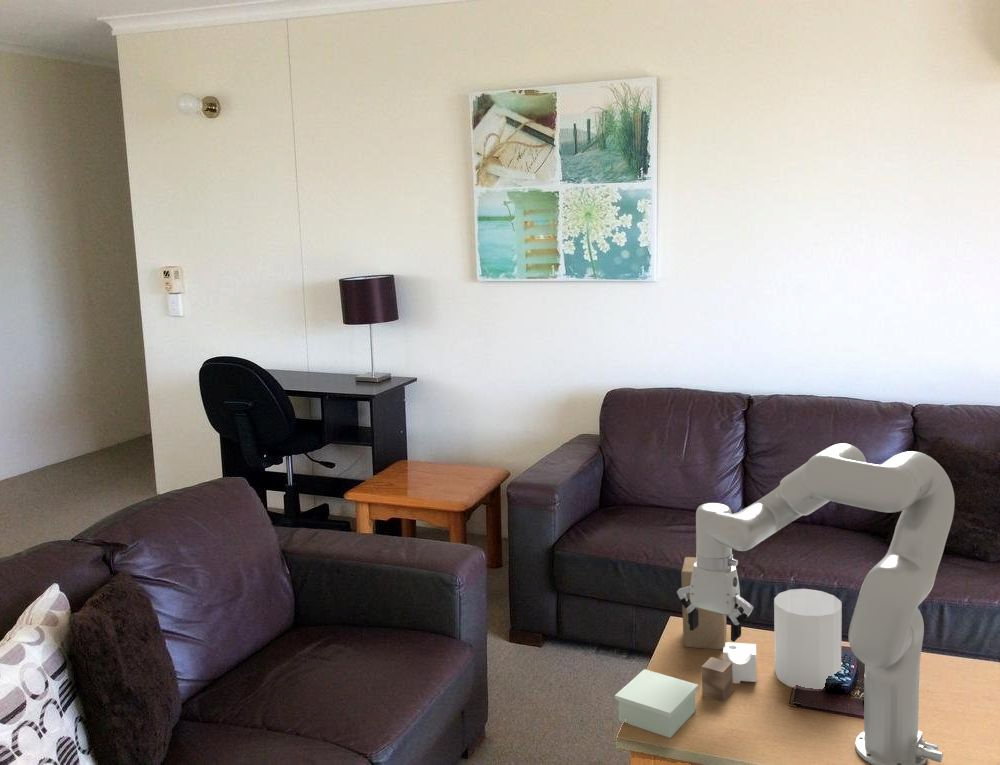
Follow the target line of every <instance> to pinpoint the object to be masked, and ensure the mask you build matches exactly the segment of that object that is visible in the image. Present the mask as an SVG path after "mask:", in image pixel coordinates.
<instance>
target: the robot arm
mask: <svg viewBox="0 0 1000 765" xmlns="http://www.w3.org/2000/svg"><path fill="white" fill-rule="evenodd" d="M829 502H834V503H837V504H844V505H847V506H852V507H855V508H856V507H857V508H861V509H866V510H870V511H876V512H881V513H897V512H901V513H900V515H899V518H898V520H897V523H896V525H895V529H894V533H893V536H892V540H891V542H890V545H889V548H888V549H887V552H886V554H885V555H884V557H883V558H882V559H881V560H880V561H879V562H878V563H877V564H875V565H874V566H873V567H872V568H871V569H870V570H869V571H868V573H867V574H866V576H865V578H864V580H863V583H862V585H861V588H860V591H859V594H858V596H857V601H856V604H855V606H854V607H855V608H854V611H853V614H852V616H851V620H850V623H849V629H848V634H847V635H848V636H847V637H848V643H849V648H850V649H851V651H852V653H853V655H854V656H855V658H857V660H858V661H860V662H861V663H862V664H864V688H863V689H864V693H863V694H864V696H863V697H864V700H863V702H864V705H863V706H864V707H863V708H864V709H863V710H864V712H863V717H864V718H863V731H862V732H861V733H859V735H858V736H857V737H856V738H855V750H856V752H857V754H858V755H859V756H860V758H862V759H863V760H864V761H866V762H867V763H869V764H871V765H925V764H926V762H927V760H930V761H934V762H936V763H939V764H940V763H941V764H942V762H943V755H944V754H943V752H942V751H940V750H939V745H938V744H935V743H931V742H927V741H926V740H925V739H923V732H922V731H920V730H919V709H920V708H919V707H920V705H919V704H920V702H919V701H920V700H919V699H920V697H919V696H920V675H921V674H920V673H921V672H920V671H921V658H922V657H921V656H922V648H923V641H924V633H925V626H924V618H923V616H922V613H921V611H920V609H919V606H920V604H922V602H923V601H924V600H925V599H926V598H927V597H928V596H929V594H930V593H931V591H932V589H933V588H934V584H935V581H936V577H937V573H938V569H939V566H940V564H941V560H942V557H943V553H944V550H945V546H946V543H947V539H948V535H949V533H950V531H951V526H952V522H953V519H954V513H955V502H956V501H955V492H954V488H953V485H952V482H951V479H950V477H949V475H948V474H947V472H946V471H945V469H944V468H943V467H942V466H941V465H940V463H939V462H937V460H935V459H934V458H933V457H932V456H930V455H927V454H926V453H923V452H920V451H913V450H911V451H910V450H909V451H908V450H907V451H904V452H903V451H902V452H901V453H898V454H895V455H893V456H891V457H890V458H888V459H887V460H886V461H884V462H883V463H881V464H875V463H869V462H867V459H866V456H865V455H864V453H863V452H862V451H861V449H859V448H858V447H856V446H855V445H852V444H849V443H843V442H842V443H835V444H833V445H831V446H828V447H826V448H825V449H823V450H821V451H820V452H818V453H816V454H814V455H813V456H811V457H810V458H809V459H808V460H807V461H806V462H805V463H804V464H802V465H801V466H799V467H798V468H797V469H795V470H793V471H792V472H790V473H789V474H787V475H786V476H784V477H783V478H782V479H781V480H780V481H779V485H778V486H777V487H775V488H774V489H773V490H771V491H770V492H769V493H767V494H766V495H764V496H762V497H761V498H759V499H758V500H757V501H755V502H753V503H752V504H750V505H748V506H747V507H744V508H743V509H742V510H740V511H738V512H734V513H732V509H731V508H730V507H729V506H728V505H726V504H723V503H719V502H707V503H703V504H701V505H699V506H698V507H697V509H696V511H695V539H696V540H695V541H696V542H695V545H696V546H695V548H696V550H695V551H696V552H695V553H696V555H695V556H696V562H695V563H694V566H693V571H692V577H691V585H690V586H687V587H683V588H682V587H680V588H678V589H677V591H676V594H677V595H678V598H679V600H680V603H681V605H682V604H683V606H684V607H685V608H686V612H687V613H688V624H690V630H694V629H695V628H696V627H697V626H698V625H699V614H698V609H696V607H697V608H701V609H704V610H708V611H712V612H716V613H720V614H725V615H726V616H727V617H728V618H729V619H730V620H731V622H732V623H731V625H730V641H731V642H732V643H736V641H737V640H738V639H739V638H741V636H742V622H743V621H745V620H746V619H747V618H748V617H749V616H750V615H751V613H752V611H753V610H754V605H752V604H751V603H750V602H748V601H747V600H746V599H744V598H743V597H742V596H741V593H740V591H741V590H740V581H739V576H738V571H737V566H738V564H739V560H738V559H735V558H734V554H733V550H734V551H739V552H745V551H749V550H751V549H753V548H754V547H756V546H758V545H759V544H761V542H764V541H765V540H766V539H768V538H769V537H771V536H772V535H774V534H776V533H777V532H778V531H780V530H782V528H785V527H786V526H787V525H789V524H791V523H792V522H794V521H796V520H797V519H799V518H800V517H802V516H808V515H810V514H812V513H813V512H816V511H817V510H818V509H820V508H822V507H823V506H824V505H826V504H828V503H829ZM686 593H690V600H689V598H688V597H687V595H686ZM740 607H741V608H742V609H743V612H742V613H741V612H740V610H739V608H740Z"/></svg>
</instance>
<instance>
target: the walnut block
mask: <svg viewBox="0 0 1000 765" xmlns="http://www.w3.org/2000/svg"><path fill="white" fill-rule="evenodd" d="M733 686H734V683H733V680H732V662H728V661H724V660H723V659H720V658H716V657H713V656H711V657H709V658H708V659H707V660H706V661H705V662H704V663H703V665H701V695H702V696H704V697H707V698H710V699H713V700H717V701H720V702H722V703H723V702H725V701H726V700H727V699H728V697H729V696H730V695H731V694H732V693H733V691H734V690H733V689H734V688H733Z"/></svg>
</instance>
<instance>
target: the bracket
mask: <svg viewBox="0 0 1000 765" xmlns="http://www.w3.org/2000/svg"><path fill="white" fill-rule="evenodd" d="M722 658H723V659H722V660H724V661H728V662H732V680H733V684H740V683H741V681H742V682H752V683H753V682H754V683H757V644H756V643H743V642H742V643H741V642H732V641H731V642H729V641H728V642H727V641H726V642H725V647H724V649H723V650H722Z"/></svg>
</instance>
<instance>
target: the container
mask: <svg viewBox="0 0 1000 765" xmlns="http://www.w3.org/2000/svg"><path fill="white" fill-rule="evenodd" d="M773 606H774V607H773V608H774V612H773V614H774V615H773V616H774V619H773V622H774V623H773V624H774V626H773V627H774V629H773V630H774V634H773V635H774V673H775V676H776V679H777V680H779V681H780V683H781V682H782V683H783V684H785V685H786V686H787V687H789V688H793V687H794V686H795V685H798V686H801V687H805V688H813V689H823V688H824V687H825V683H826V679H827V678H828V676H831V675H834V674H836V673H837V672H838V671H840V670H841V671H842V624H843V623H842V617H843V616H842V615H843V613H842V612H843V611H842V606H843V605H842V601H841V600H840V599H839V598H838V597H836V595H834V594H830V593H828V592H825V591H822V590H816V589H810V588H809V589H808V588H795V589H787V590H785V591H782V592H779V593H778V594H777V595H776V596H775V597H774V599H773Z"/></svg>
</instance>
